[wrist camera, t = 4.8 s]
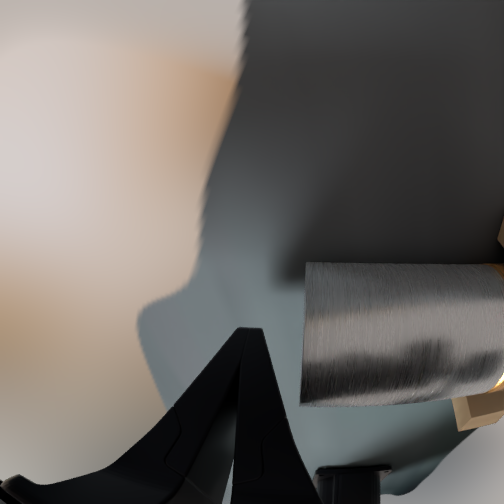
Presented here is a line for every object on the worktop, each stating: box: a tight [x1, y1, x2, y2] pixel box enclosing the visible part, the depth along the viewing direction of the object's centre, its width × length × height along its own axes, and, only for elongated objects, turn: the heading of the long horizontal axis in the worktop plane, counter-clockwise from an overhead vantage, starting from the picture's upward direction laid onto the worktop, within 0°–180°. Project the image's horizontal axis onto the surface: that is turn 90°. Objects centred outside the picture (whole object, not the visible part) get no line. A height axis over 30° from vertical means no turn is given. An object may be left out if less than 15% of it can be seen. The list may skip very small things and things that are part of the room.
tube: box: [299, 262, 504, 407], centre depth 8 cm, size 12×4×4 cm, turn 94°
